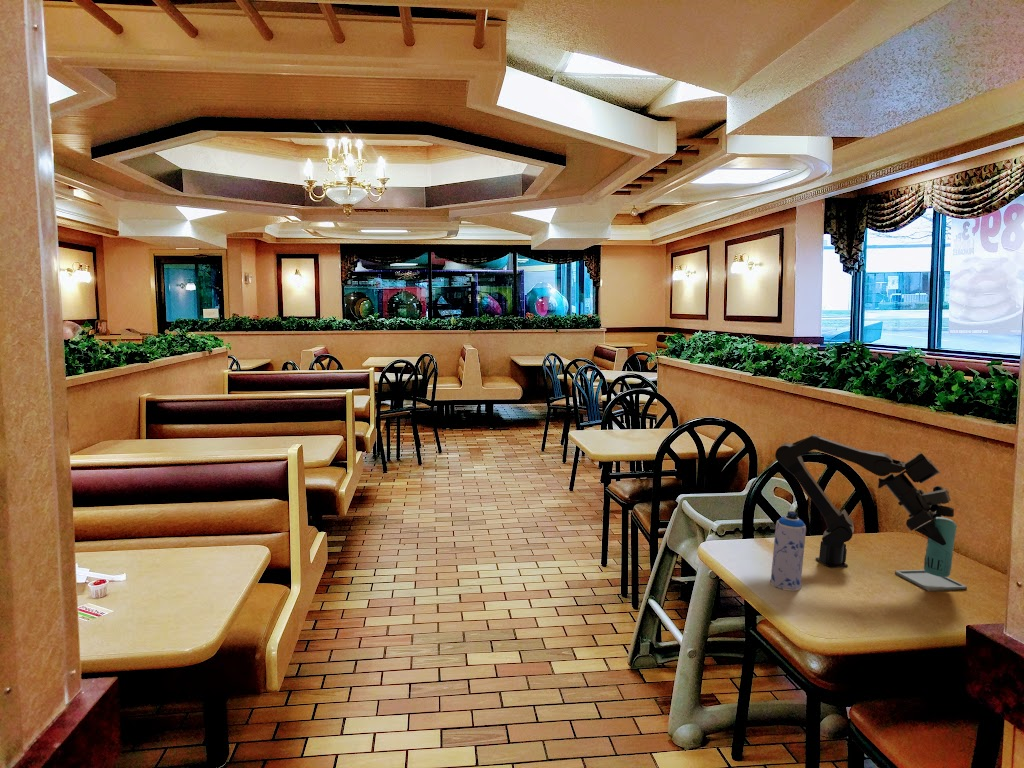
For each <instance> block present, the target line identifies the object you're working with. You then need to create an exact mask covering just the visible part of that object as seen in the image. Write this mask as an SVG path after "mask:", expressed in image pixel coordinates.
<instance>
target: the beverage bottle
mask: <svg viewBox="0 0 1024 768" xmlns="http://www.w3.org/2000/svg"><path fill="white" fill-rule="evenodd" d="M936 514H938V515H941V517H936V527H937V528H938V530H939V531H940V533H941V535H942V536H943V538H944V540H945V541H946V544H945V545H941V544H939V543H937V542H936V541H934V540H932V539H930V538H928V537H927V538H926V542H927V543H925V545H926V548H925V555H924V559H923V561H924V563H923V570H924V571H925V572H927V573H929V574H932V575H935V576H940V577H948V578H949V576H951V572H952V565H953V557H954V547H955V541H956V534H957V533H956V532H957V528H958V525H957V523H955V521H954V520H952V519H950V518H953V517H954V516H955V511H954V508H953V507H950V506H947V505H942V506H937V510H936ZM947 517H948V518H947Z"/></svg>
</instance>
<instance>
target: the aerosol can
mask: <svg viewBox="0 0 1024 768" xmlns="http://www.w3.org/2000/svg"><path fill="white" fill-rule="evenodd" d="M806 526H807V525H806V524H805V523H804V521H803V520H802V519H800V518H799V517H798V515H797V511H792V510H791V511H787V515H784V516H781V517H779V519H778V520H776V522H775V530H774V542H773V552H772V553H773V554H772V563H771V564H772V565H771V575H770V580H769V584H770V585H772V586H773V587H775V588H777V589H780V590H783V591H791V592H796V591H799V590H801V589H802V584H801V583H802V575H803V573H802V572H803V565H804V564H803V562H804V552H805V544H806V543H805V542H806V534H807V527H806Z"/></svg>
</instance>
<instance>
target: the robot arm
mask: <svg viewBox="0 0 1024 768" xmlns="http://www.w3.org/2000/svg"><path fill="white" fill-rule="evenodd" d="M812 451H818V452H821V453H824V454H827V455H830V456H834V457H836V458H839V459H842V460H845V461H848V462H851V463H853V464H857V465H858V466H860V467H861V468H863V469H864V470H866V471H867V472H870V473H872V474H873V475H875V476H878V477H879V478H878V479H877V481H878V485H877V488H878V489H881V488H883V487H885V486H886V487H887V489H888V490H889V491H890V492H891V494H892V495H893V496H894V497H895V498H896V500H897V501H898V502H897V504H898V505H899V506H900V507H901V506H902V507H903V508H904V509H905V510H906V511H907V512H908V517H909V518H908V519H906V522H905V523H906V525H905V526H907V528H908V529H909V530H910V531H911V532H912V531H914V532H917V533H919V534H921V535H923V536H925V537H927V538H930V539H932V540H934V541H936V542H937V543H939V544H941V545H945V544H946V541H945V540H944V538H943V536H942V535H941V533H940V531H939V530H938V528H937V527H936V517H942V516H941V515H938V514H936V510H937V506H943V505H945V504H948V503H950V501H951V500H952V499H951V497H950V492H949V491H948V489H947V488H944V487H942V485H935V486H934V487H933V490H932V491H929V492H924V490H922V489H920V488H919V489H918V488H917V487H916V486H915V485H914V483H920V484H923V483H925V482H927V481H928V480H930V479H932V478H933V477H935V476H937V475H938V474H940V470H939V469H938V467H937V465H935V463H933V462H932V460H930V459H929V458H928V457H927V456H926V455H925V454H924V453H923V452H919V453H918V454H917V455H915V456H914V457H913V458H911V459H909V460H907V462H905V461H902V460H898V459H895V458H893V457H892V456H891V455H889V454H887V453H885V452H879V451H873V450H872V451H871V450H864V449H859V448H855V447H852V446H850V445H846V444H843V443H840V442H838V441H834V440H831V439H827V438H824V437H821V436H820V435H818V434H815V433H814V434H811V435H809V436H808V437H805V438H803V439H802V438H801V439H800V440H798V441H795V442H793V443H791V442H785V443H783V444H781V445H780V446H778V448H777V449H776V450H775V455H774V458H775V459H776V461H777V462H778V464H780V465H781V467H782V468H784V469H785V470H786V471H787V472H789V473H790V474H791V475H793V477H794V478H795V479H796V481H797V482H798V484H799V485H800V486H801V488H802V489H803V490H804V491H805V493H806V494H807V496H808V497H809V498H810V500H811V501H812V503H813V504H814V505H815V507H816V508H817V510H818V511H819V512H820V514H821V515H822V517H823V519H824V522H825V525H826V528H827V529H825V530H824V532H823V535H822V537H821V541H820V543H819V544H820V545H819V546H820V547H819V556H818V557H815V560H816V561H818V562H819V563H821V564H823V565H825V566H826V567H829V568H845V567H848V566H849V564H847V563H846V560H847V551H848V550H847V544H846V542H849V541H850V540H851V539H852V538H853V535H854V530H855V527H854V519H853V518H851V517H850V516H849V514H848V512H847V511H846V509H845V508H844V509H843V510H842V511H841V510H839V508H836V507H835V505H834V504H833V502H832V501H831V500H830V498H829V497H828V495H826V493H825V492H824V491H823V489H822V487H821V486H820V485H819V484H818V482H817V481H816V480H815V478H814V477H813V475H812V474H811V473H810V471H809V470H808V468H807V467H806V465H805V462H804V459H803V457H802V456H803V455H805V454H808V453H809V452H812ZM896 474H897V475H896ZM883 477H884V478H883ZM908 477H909V478H908Z"/></svg>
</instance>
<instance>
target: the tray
mask: <svg viewBox="0 0 1024 768" xmlns="http://www.w3.org/2000/svg"><path fill="white" fill-rule="evenodd" d="M894 574H895V575H896V576H898V577H901V578H902V579H904V580H906V581H908V582H910V583H912V584H913V585H916V586H917V587H920V588H921V589H922V590H924V591H927V592H940V591H941V592H944V591H966V590H968V586H967V585H965V584H963V583H961V582H959V581H957V580H955V579H953V578H950V577H949V576H948V577H940V576H935V575H932V574H929V573H927V572H925V571H924V569H910V570H909V569H905V570H904V569H903V570H895V571H894Z"/></svg>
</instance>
